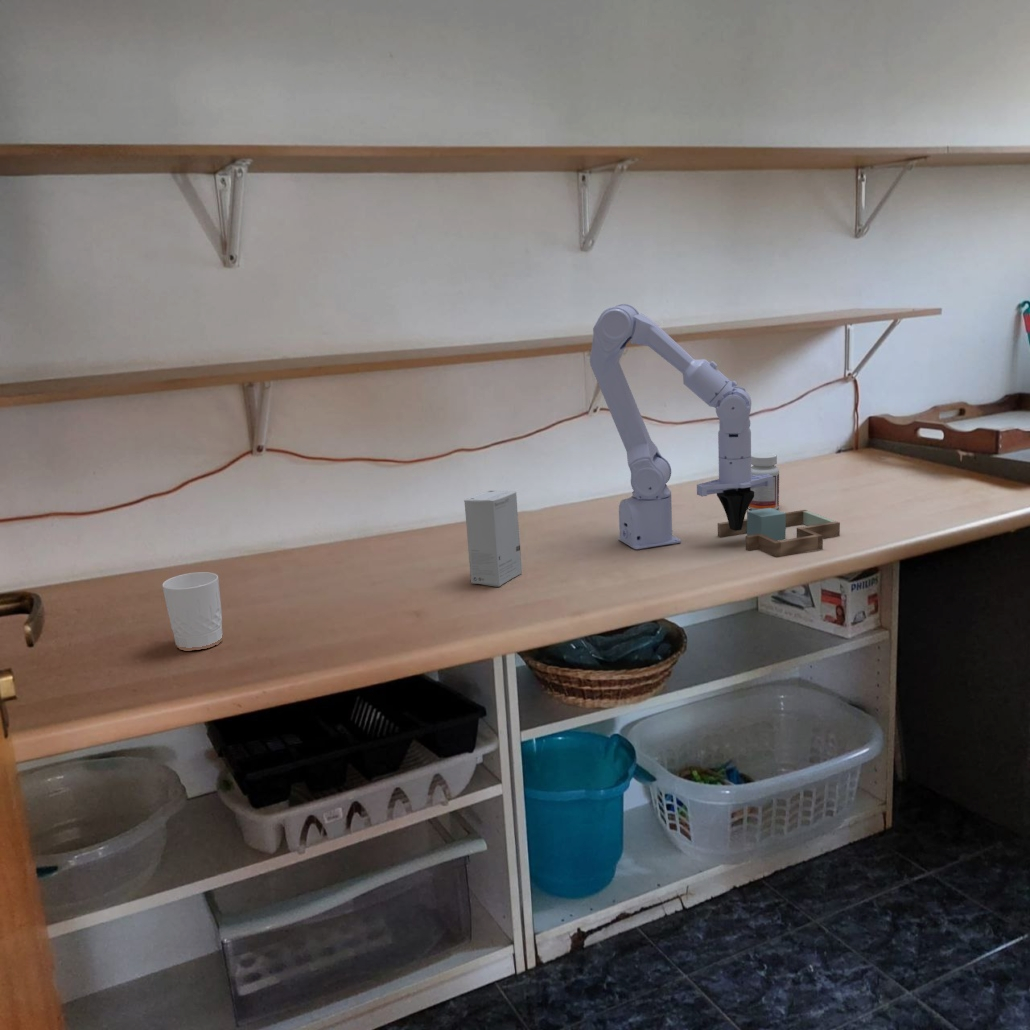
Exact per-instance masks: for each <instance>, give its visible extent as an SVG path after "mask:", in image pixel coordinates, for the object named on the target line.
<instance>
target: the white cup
mask: <svg viewBox="0 0 1030 1030" xmlns="http://www.w3.org/2000/svg"><path fill="white" fill-rule="evenodd" d="M161 586H162V591H163V595H164V600H165V605H166V609H167V614H168V619H169V621H170V628H171V630H172V632H173V638H174V642H175V646H176V645H178V646H179V647H186V648H192V647H202V646H206V645H210V644H212V643H215V642H217V641H218V640H220V639H221V638H222V635H223V636H224V634H223V626H222V625H223V618H222V615H223V614H222V613H223V612H222V603H221V593H220V590H221V589H220V581H219V575H218V574H217V573H214V572H207V571H206V572H205V571H202V572H201V571H199V572H189V573H183V574H180V575H176V576H173V577H171V578H170V577H169V578H167V579H166V580H164V581H163V582H162V585H161Z"/></svg>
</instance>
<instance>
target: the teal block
mask: <svg viewBox="0 0 1030 1030" xmlns="http://www.w3.org/2000/svg"><path fill="white" fill-rule="evenodd" d="M786 513H787V512H784V511H783V512H782V511H781V510H778V509H777V510H775V509H773V508H766V509H759V510H747V511H746V519H747V533H746V536H748V535H755V534H763V535H765V536H767V537H770V538H772V539H774V540H776V541H778V540H779V541H781V540H784V539H785V540H786V533H787V532H786Z"/></svg>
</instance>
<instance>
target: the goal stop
mask: <svg viewBox="0 0 1030 1030" xmlns="http://www.w3.org/2000/svg"><path fill="white" fill-rule="evenodd" d="M830 522H836V520H834V519H832V518H828V517H825V516H822V515H820V514H817V513H814V512H811V511H808V510H807V511H804V512H803V524H802V525H804V524H805V525H804V526H811V525H817V524H823V523H830Z"/></svg>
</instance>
